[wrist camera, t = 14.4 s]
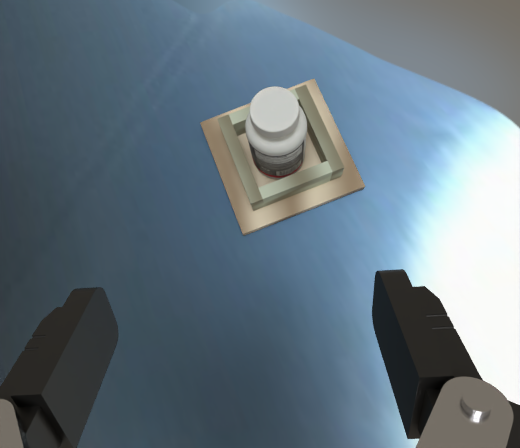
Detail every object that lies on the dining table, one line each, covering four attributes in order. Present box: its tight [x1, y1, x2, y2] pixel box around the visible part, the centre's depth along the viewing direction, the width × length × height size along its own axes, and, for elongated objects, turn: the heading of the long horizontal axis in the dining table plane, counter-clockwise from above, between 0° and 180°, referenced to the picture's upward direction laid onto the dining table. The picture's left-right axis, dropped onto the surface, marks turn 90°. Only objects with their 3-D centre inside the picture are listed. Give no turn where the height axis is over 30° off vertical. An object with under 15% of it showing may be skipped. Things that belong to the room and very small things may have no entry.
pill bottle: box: [245, 87, 307, 179], centre depth 37 cm, size 5×5×10 cm
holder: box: [201, 79, 365, 235], centre depth 41 cm, size 13×13×4 cm
